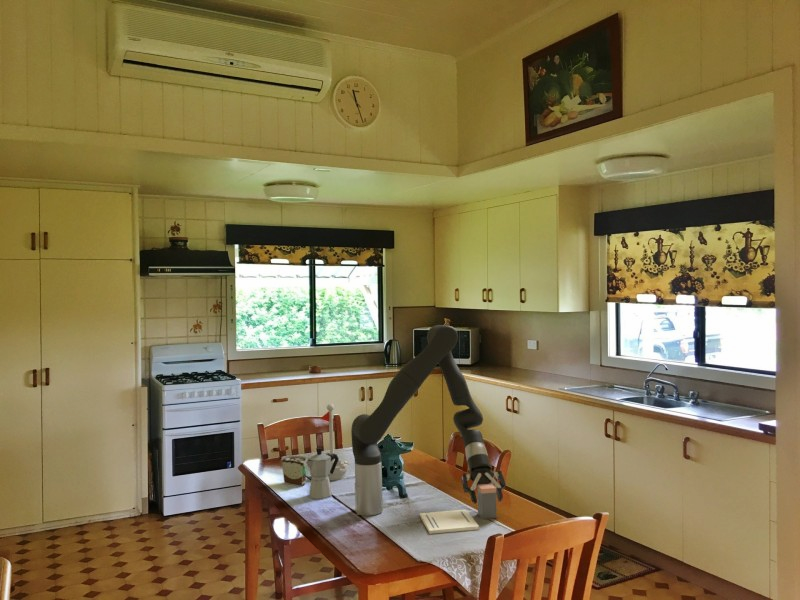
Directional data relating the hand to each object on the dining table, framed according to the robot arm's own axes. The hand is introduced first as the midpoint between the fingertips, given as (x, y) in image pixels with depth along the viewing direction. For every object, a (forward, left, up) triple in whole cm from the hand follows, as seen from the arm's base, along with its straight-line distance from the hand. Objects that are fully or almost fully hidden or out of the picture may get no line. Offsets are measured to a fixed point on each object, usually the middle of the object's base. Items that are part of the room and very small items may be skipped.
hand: (488, 501), depth 222 cm
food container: (-62, +55, -5) cm, 83 cm away
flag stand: (-48, +60, -5) cm, 77 cm away
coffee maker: (-53, +37, -5) cm, 65 cm away
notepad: (-14, -2, -5) cm, 15 cm away
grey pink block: (0, +1, -5) cm, 5 cm away
